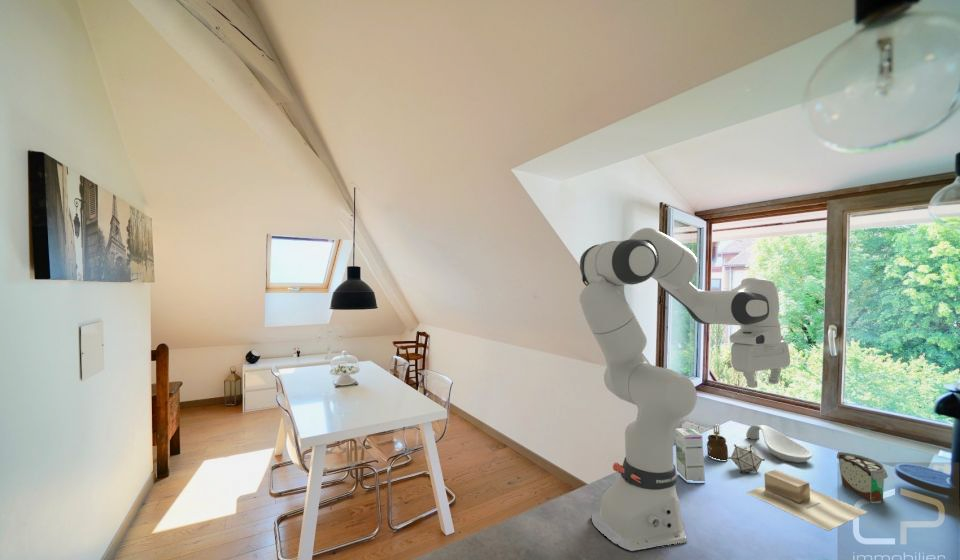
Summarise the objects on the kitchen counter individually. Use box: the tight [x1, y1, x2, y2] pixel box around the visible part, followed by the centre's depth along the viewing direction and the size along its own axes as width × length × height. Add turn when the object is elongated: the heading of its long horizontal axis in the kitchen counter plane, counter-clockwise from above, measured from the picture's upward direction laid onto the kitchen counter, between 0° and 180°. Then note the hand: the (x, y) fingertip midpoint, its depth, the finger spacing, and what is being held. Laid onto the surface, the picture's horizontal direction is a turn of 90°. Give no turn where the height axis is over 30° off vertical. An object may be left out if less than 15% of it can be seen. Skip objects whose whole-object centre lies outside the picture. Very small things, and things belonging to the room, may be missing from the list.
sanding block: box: [764, 469, 811, 504], centre depth 99 cm, size 5×8×4 cm, turn 22°
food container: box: [836, 451, 889, 504], centre depth 98 cm, size 12×6×10 cm, turn 168°
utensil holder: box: [706, 424, 729, 461], centre depth 124 cm, size 6×6×12 cm
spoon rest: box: [745, 424, 813, 463], centre depth 128 cm, size 24×12×7 cm, turn 178°
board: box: [746, 485, 869, 532], centre depth 95 cm, size 18×18×1 cm
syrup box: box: [674, 427, 706, 482], centre depth 111 cm, size 6×6×14 cm
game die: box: [728, 444, 766, 474], centre depth 114 cm, size 9×8×10 cm
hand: (763, 385), depth 101 cm, fingers open, 8 cm apart
